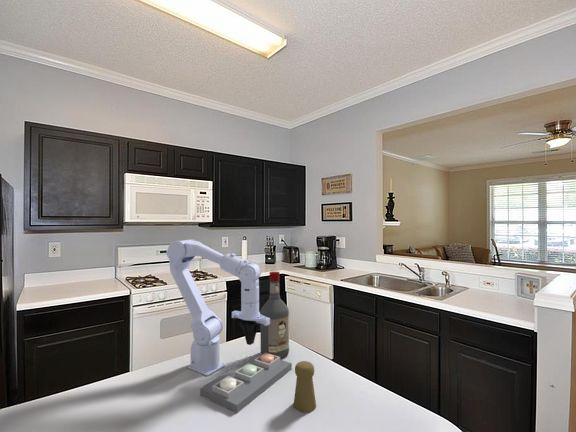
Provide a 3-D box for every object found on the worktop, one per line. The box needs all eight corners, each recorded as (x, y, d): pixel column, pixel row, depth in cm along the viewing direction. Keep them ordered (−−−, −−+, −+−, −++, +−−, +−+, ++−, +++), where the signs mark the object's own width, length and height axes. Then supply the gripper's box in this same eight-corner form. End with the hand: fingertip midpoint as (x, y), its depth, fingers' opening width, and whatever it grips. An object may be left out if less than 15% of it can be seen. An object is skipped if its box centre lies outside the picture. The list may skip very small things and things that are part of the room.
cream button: (216, 390, 81) (216, 383, 81) (228, 382, 85) (228, 376, 85) (228, 395, 79) (228, 388, 79) (239, 387, 82) (239, 380, 82)
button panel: (200, 395, 82) (200, 383, 82) (258, 358, 104) (258, 349, 104) (237, 413, 74) (237, 399, 74) (291, 369, 96) (291, 358, 96)
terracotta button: (257, 363, 96) (257, 357, 96) (265, 358, 100) (265, 352, 100) (268, 366, 94) (268, 361, 94) (276, 361, 97) (276, 355, 97)
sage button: (239, 375, 88) (239, 369, 88) (248, 369, 92) (248, 363, 92) (250, 379, 86) (250, 373, 86) (259, 373, 90) (259, 367, 90)
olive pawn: (315, 414, 74) (314, 370, 74) (291, 411, 75) (291, 368, 75) (317, 399, 80) (317, 359, 80) (295, 397, 81) (295, 357, 81)
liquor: (257, 353, 108) (257, 272, 109) (278, 346, 114) (277, 269, 114) (271, 362, 101) (271, 275, 101) (292, 355, 106) (291, 272, 107)
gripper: (275, 301, 94) (275, 344, 94) (241, 295, 102) (241, 334, 102) (262, 306, 88) (262, 352, 88) (227, 300, 96) (227, 341, 96)
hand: (250, 343), depth 94 cm, fingers closed
